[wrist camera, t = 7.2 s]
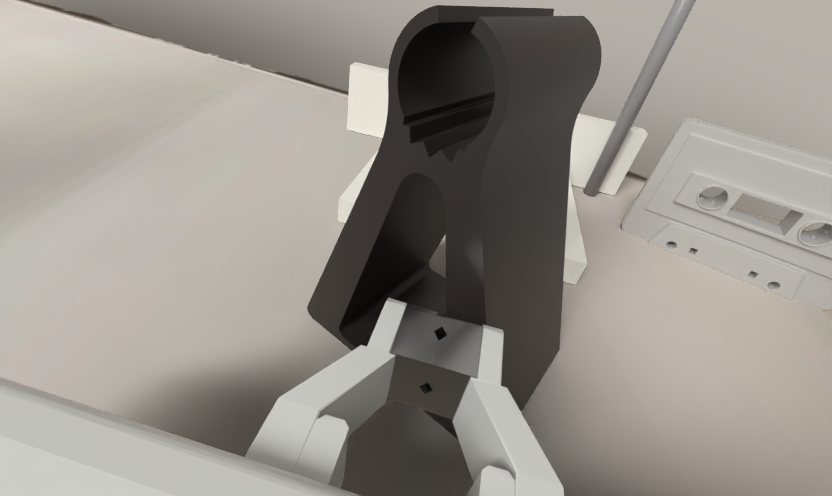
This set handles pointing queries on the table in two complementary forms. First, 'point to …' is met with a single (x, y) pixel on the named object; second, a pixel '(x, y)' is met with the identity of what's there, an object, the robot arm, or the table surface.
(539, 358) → the phone stand
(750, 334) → the table surface
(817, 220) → the cassette
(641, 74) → the flag on white base
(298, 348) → the table surface
